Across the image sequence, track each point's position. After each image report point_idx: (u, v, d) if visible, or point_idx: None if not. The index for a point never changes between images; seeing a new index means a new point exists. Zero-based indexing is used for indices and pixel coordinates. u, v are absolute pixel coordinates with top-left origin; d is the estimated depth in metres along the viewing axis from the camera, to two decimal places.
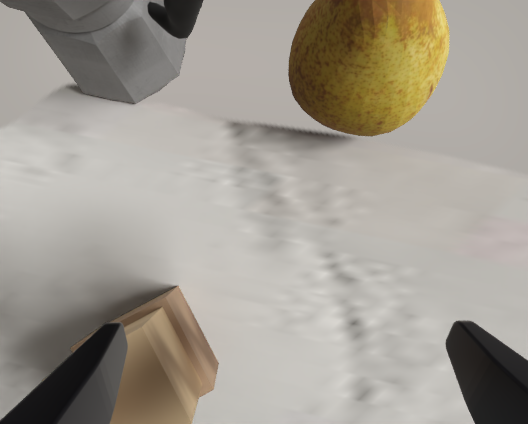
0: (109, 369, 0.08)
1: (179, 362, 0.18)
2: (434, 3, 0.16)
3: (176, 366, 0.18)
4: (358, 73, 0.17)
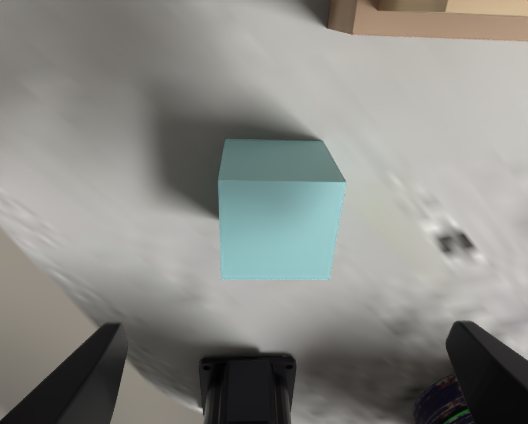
0: (109, 369, 0.08)
1: None
2: None
3: None
4: None
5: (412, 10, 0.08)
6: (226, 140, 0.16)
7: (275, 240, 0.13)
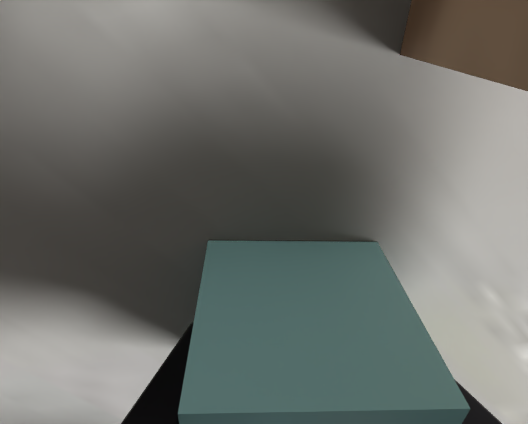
0: None
1: None
2: None
3: None
4: None
5: None
6: (209, 247, 0.09)
7: None
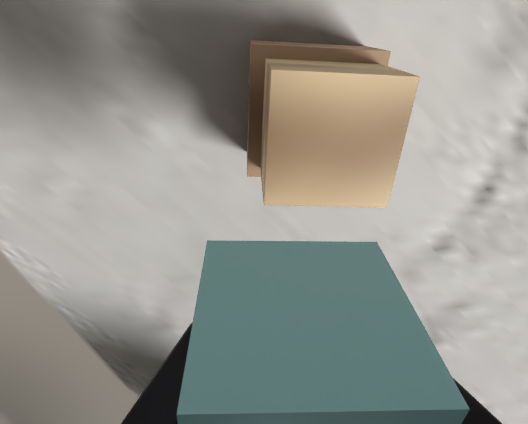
0: None
1: None
2: None
3: None
4: None
5: (262, 188, 0.15)
6: (208, 247, 0.09)
7: None
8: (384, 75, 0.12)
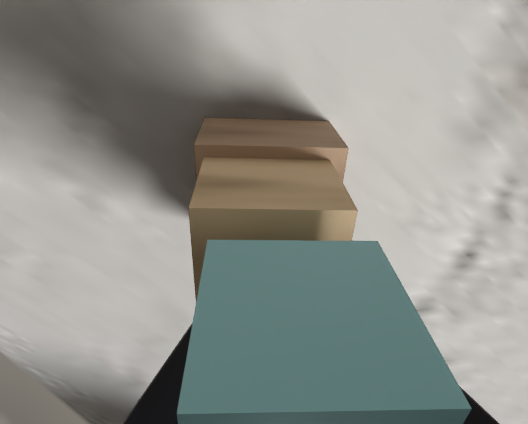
0: None
1: None
2: None
3: None
4: None
5: None
6: (209, 246, 0.09)
7: None
8: (317, 209, 0.10)
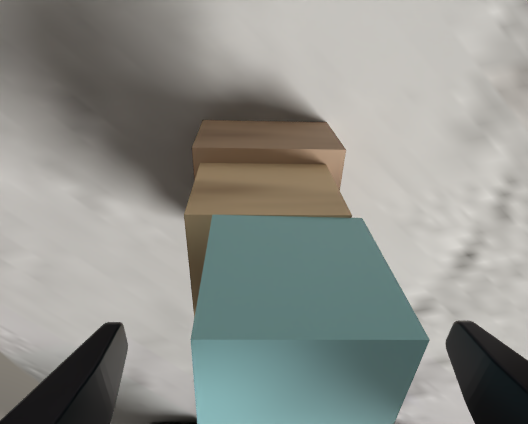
0: (109, 369, 0.08)
1: None
2: None
3: None
4: None
5: None
6: (214, 219, 0.10)
7: (293, 416, 0.08)
8: (312, 214, 0.10)
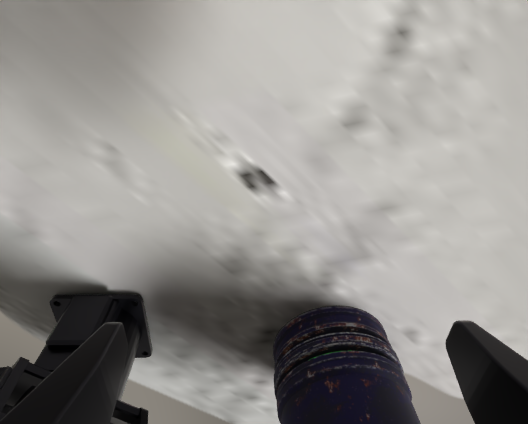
0: (109, 369, 0.08)
1: None
2: None
3: None
4: None
5: None
6: None
7: None
8: None
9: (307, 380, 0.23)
